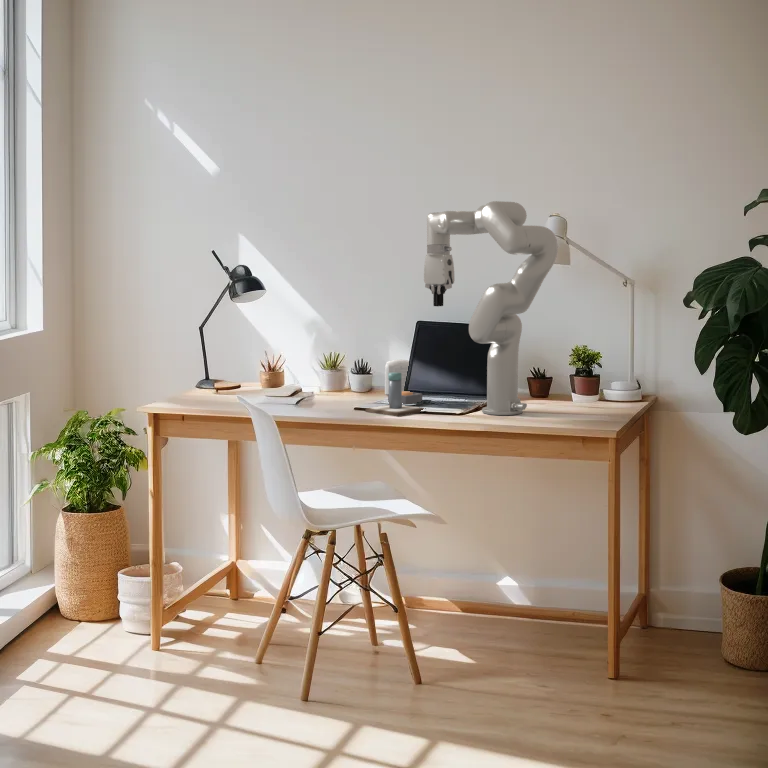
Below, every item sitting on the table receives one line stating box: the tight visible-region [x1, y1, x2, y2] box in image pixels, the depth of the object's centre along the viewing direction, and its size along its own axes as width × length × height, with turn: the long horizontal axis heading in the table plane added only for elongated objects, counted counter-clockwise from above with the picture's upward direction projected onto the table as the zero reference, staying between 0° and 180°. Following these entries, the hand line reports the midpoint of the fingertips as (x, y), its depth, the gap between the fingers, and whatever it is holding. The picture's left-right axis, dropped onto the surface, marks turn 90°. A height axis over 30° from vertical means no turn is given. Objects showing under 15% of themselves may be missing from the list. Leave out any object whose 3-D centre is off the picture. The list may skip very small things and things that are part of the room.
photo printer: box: [384, 358, 410, 396], centre depth 352 cm, size 10×4×12 cm, turn 109°
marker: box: [388, 372, 402, 409], centre depth 313 cm, size 4×4×11 cm
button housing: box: [387, 392, 423, 404], centre depth 329 cm, size 8×8×4 cm
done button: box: [402, 391, 414, 396], centre depth 328 cm, size 5×5×2 cm
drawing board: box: [365, 404, 427, 417], centre depth 314 cm, size 14×13×1 cm
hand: (438, 306), depth 330 cm, fingers closed
